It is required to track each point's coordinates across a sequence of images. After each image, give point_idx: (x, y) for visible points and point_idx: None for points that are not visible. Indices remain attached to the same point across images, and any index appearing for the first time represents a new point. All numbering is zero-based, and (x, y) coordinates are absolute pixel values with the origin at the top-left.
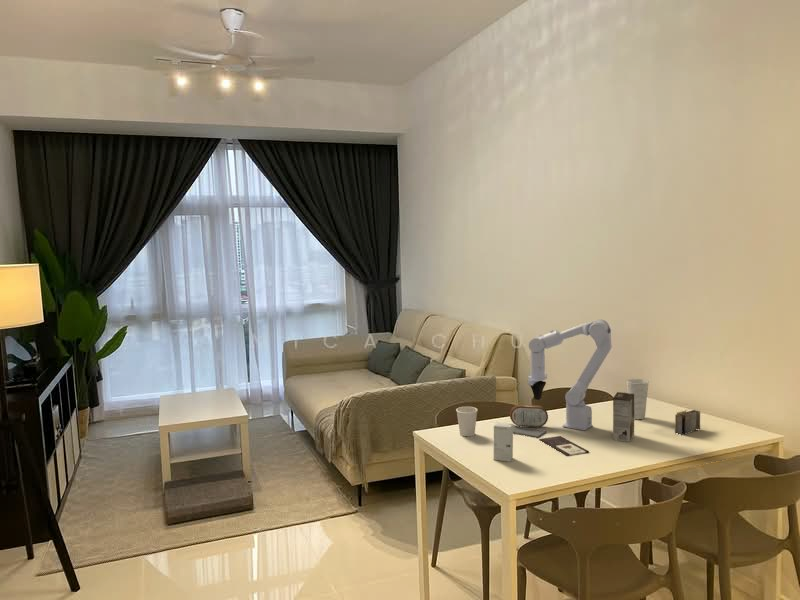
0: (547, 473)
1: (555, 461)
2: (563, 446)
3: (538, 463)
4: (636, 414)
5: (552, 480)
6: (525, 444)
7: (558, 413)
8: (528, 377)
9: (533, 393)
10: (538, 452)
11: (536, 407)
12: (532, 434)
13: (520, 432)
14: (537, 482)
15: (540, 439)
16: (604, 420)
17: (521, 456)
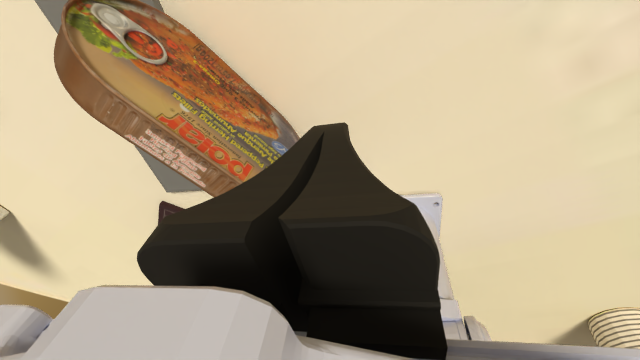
0: (64, 282)
1: (112, 275)
2: None
3: (68, 259)
4: (597, 342)
5: (60, 294)
6: (95, 188)
7: (620, 67)
8: (63, 344)
9: (285, 155)
10: (102, 236)
11: (210, 194)
12: (162, 170)
13: None
14: (28, 283)
15: (160, 208)
16: (537, 267)
17: (41, 221)
